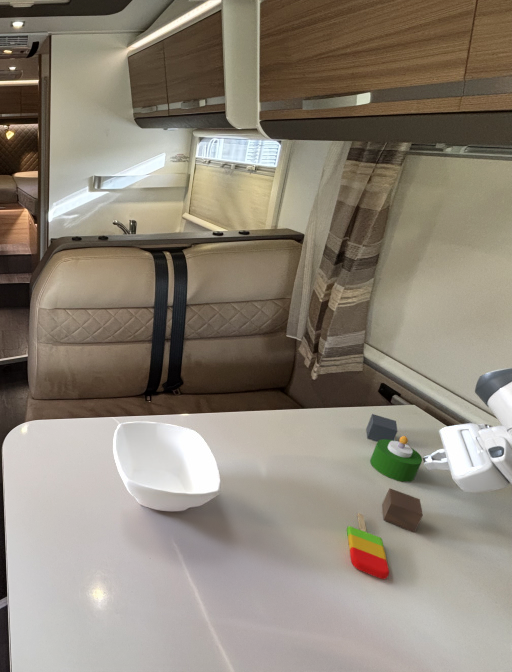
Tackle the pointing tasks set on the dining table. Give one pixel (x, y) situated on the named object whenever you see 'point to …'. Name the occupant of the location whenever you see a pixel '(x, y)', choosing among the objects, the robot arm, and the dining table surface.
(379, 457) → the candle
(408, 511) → the walnut block
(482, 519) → the dining table surface
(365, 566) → the popsicle
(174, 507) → the bowl
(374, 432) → the slate block
